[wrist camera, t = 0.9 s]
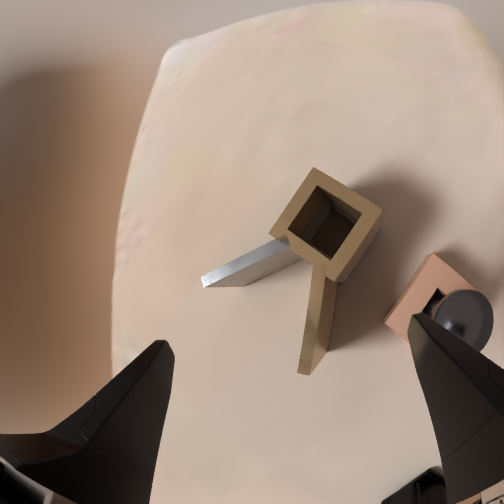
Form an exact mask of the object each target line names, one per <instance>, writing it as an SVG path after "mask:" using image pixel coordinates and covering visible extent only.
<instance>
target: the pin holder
mask: <svg viewBox="0 0 504 504" xmlns="http://www.w3.org/2000/svg"><path fill="white" fill-rule="evenodd" d="M459 289H468V290H475V291H477V290H476V289H475V288H474V287H473V286H472V285H471V284H469V283H468V282H467V281H466V280H465V279H464V278H463V277H461V276H460V275H459V274H458V273H457V272H456V271H454V270H453V269H452V268H451V267H450V266H448V265H447V264H446V263H445V262H444V261H442V260H441V259H440V258H439V257H437V256H436V255H435V254H434V253H432V254H430V255H428V256H426V258H425V259H424V261H423V263H422V264H421V266H420V267H419V269H418V271H417V272H416V274H415V275H414V277H413V278H412V280H411V281H410V283H409V284H408V286H407V287H406V289H405V290H404V292H403V293H402V294H401V296H400V297H399V299H398V300H397V301H396V303H395V304H394V306H393V307H392V308H391V310H390V311H389V312H388V314H387V315H386V316H385V318H384V323H385V324H386V325H387V326H388V327H390V328H391V329H392V330H393V331H395V332H396V333H397V334H398V335H400V336H401V337H402V338H403V339H405V340H406V341H407V342H408V343H409V340H408V335H407V331H408V327H409V323H410V319H411V316H412V315H413V314H416V313H421V311H422V310H423V308H424V307H425V306H426V304H427V303H428V301H429V300H430V298H431V297H432V295H433V294H434V292H435V291H437V292H438V293H439V294H441V295H442V296H443V297H445V296H446V295H447V294H449V293H451V292H453V291H455V290H459ZM409 344H410V343H409Z"/></svg>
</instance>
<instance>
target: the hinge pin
mask: <svg viewBox="0 0 504 504" xmlns="http://www.w3.org/2000/svg"><path fill="white" fill-rule="evenodd" d="M422 313H424V314H425V315H427V316H428V317H430V318H431V319H433V320H434V321H436V322H437V323H439V324H440V325H442V326H443V327H445V328H446V329H448V330H449V331H450V332H452V333H453V334H455V335H456V336H458V337H459V338H461V339H462V340H463V341H465V342H466V343H468V344H469V345H470V346H472V347H473V348H475V349H476V350H477V351H479V352H480V351H481V350H482V349H483V348H484V347H485V345H486V344H487V342H488V340H489V338H490V336H491V333H492V329H493V320H494V318H493V311H492V307H491V305H490V303H489V301H488V299H487V298H486V297H485V296H484V295H483V294H481V293H480V292H478V291H475V290H468V289H459V290H455V291H453V292H451V293H449V294H447V295H446V296H445V297H444V298H443V299H442V298H438V297H431V298H430V300H429V301H428V303H427V304H426V306H425V307H424V308H423V310H422Z"/></svg>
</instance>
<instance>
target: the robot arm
mask: <svg viewBox="0 0 504 504" xmlns="http://www.w3.org/2000/svg"><path fill="white" fill-rule="evenodd" d="M407 335H408V340H409V343H410V347H411V351H412V355H413V360H414V364H415V368H416V372H417V375H418V378H419V381H420V384H421V387H422V390H423V393H424V396H425V399H426V403H427V406H428V409H429V413H430V416H431V420H432V424H433V427H434V431H435V435H436V439H437V443H438V448H439V452H440V457H441V461H442V467H443V473H444V476H442V475H440V474H439V473H437V472H436V471H434V470H432V469H429V470H427V471H425V472H424V473H423V474H421V475H420V476H419V477H417V478H416V479H415V480H413V481H412V482H411V483H409V484H408V485H406V486H405V487H403V488H402V489H400V490H399V491H397V492H396V493H394V494H393V495H391V496H390V497H388V498H386V499H385V500H383V501H382V502H381V504H456V503H458V502H461V501H463V500H465V499H467V498H470V497H472V496H474V495H476V494H478V493H480V496H481V498H480V499H478V500H477V501H475V502H473V504H504V369H502V368H501V367H500V366H498V365H497V364H495V363H494V362H493V361H491V360H490V359H488V358H487V357H486V356H484V355H483V354H482V353H480V352H479V351H477V350H476V349H475V348H473V347H472V346H470V345H469V344H468V343H466V342H465V341H463V340H462V339H461V338H459V337H458V336H456V335H455V334H453V333H452V332H450V331H449V330H448V329H446V328H445V327H443V326H442V325H440V324H439V323H437V322H436V321H434V320H433V319H431V318H430V317H428V316H427V315H425V314H424V313H416V314H413V315H412V316H411V319H410V323H409V327H408V331H407ZM174 362H175V356H174V353H173V351H172V349H171V347H170V345H169V343H168V342H167V341H166V340H156V341H154V342H153V343H152V344H151V345H150V346H149V347H148V348H146V349H145V350H144V351H143V352H142V353H141V354H140V355H139V356H138V357H136V358H135V359H134V360H133V361H132V362H131V363H130V364H129V365H128V366H127V367H125V368H124V369H123V370H122V371H121V372H120V373H119V374H118V375H117V376H115V377H114V378H113V379H112V380H111V381H110V382H109V383H108V384H107V385H105V386H104V387H103V388H102V389H101V390H100V391H99V392H98V393H96V395H94V396H93V397H92V398H91V399H90V400H89V401H88V402H86V403H85V404H84V405H83V406H82V407H80V408H79V409H78V410H77V411H75V412H74V413H73V414H71V415H70V416H69V417H68V418H66V419H65V420H63V421H62V422H61V423H59V424H58V425H56V426H55V427H54V428H52V429H51V430H49V431H46V432H43V433H36V434H0V457H1V458H2V459H3V460H5V461H6V464H4V463H3V462H1V461H0V504H149V501H150V495H151V489H152V483H153V477H154V472H155V466H156V461H157V456H158V451H159V446H160V441H161V436H162V431H163V426H164V422H165V417H166V413H167V408H168V404H169V399H170V394H171V387H172V379H173V370H174ZM429 473H430V474H429ZM427 474H428V475H427Z"/></svg>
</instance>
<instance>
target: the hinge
mask: <svg viewBox="0 0 504 504" xmlns="http://www.w3.org/2000/svg"><path fill="white" fill-rule="evenodd" d="M332 209H334V210H335V211H337V212H338V213H340V214H341V215H343V216H344V217H346V218H347V219H349V220H350V221H352V222H353V223H355V226H354V227H353V229H352V230H351V232H350V233H349V235H348V236H347V238H346V239H345V241H344V242H343V244H342V245H341V247H340V248H339V249H338V251H337V252H336V254H335V255H334V257H333V258H331V257H330V256H328V255H327V254H325V253H324V252H323V251H321V250H320V249H319V248H317V247H316V246H314V245H313V244H312V243H310V241H311V240H312V238H313V237H314V235H315V234H316V233H317V231H318V230H319V228H320V227H321V225H322V224H323V222H324V221H325V219H326V218H327V216H328V215H329V213H330V212H331V210H332ZM382 211H383V210H382V209H381V208H379V207H378V206H376V205H375V204H373V203H372V202H370V201H369V200H367V199H366V198H364V197H363V196H361V195H359V194H358V193H356V192H355V191H353V190H351V189H350V188H348V187H347V186H345V185H343V184H342V183H340V182H338V181H337V180H335V179H333V178H331V177H330V176H328V175H326V174H325V173H323V172H321V171H319V170H318V169H316V168H314V167H313V168H312V170H311V171H310V173H309V174H308V176H307V177H306V179H305V180H304V182H303V183H302V184H301V186H300V187H299V189H298V190H297V192H296V193H295V195H294V196H293V198H292V199H291V201H290V202H289V204H288V205H287V207H286V208H285V210H284V211H283V213H282V214H281V215H280V217H279V218H278V220H277V221H276V223H275V224H274V226H273V227H272V229H271V230H270V232H269V234H270V235H272V236H273V237H274V238H276V239H274V240H272V241H270V242H268V243H267V244H265V245H263V246H261V247H259V248H257V249H255V250H253V251H251V252H249V253H247V254H245V255H243V256H241V257H239V258H237V259H235V260H233V261H231V262H229V263H227V264H225V265H223V266H221V267H219V268H217V269H215V270H213V271H211V272H209V273H207V274H205V275H203V276H201V280H202V283H203V286H204V287H243V286H245V285H247V284H250V283H252V282H254V281H256V280H258V279H261V278H263V277H265V276H267V275H269V274H272V273H274V272H276V271H278V270H280V269H282V268H285V267H287V266H289V265H291V264H293V263H295V262H297V261H300V260H302V259H304V260H305V261H306V262H308V263H309V264H310V265H312V266H313V272H312V280H311V288H310V296H309V303H308V310H307V317H306V324H305V330H304V337H303V343H302V349H301V355H300V360H299V366H298V371H297V373H300V374H305V375H310V374H311V373H312V371H313V370H314V369H315V368H316V366H317V365H318V364H319V362H320V361H321V360H322V358H323V357H324V356H325V354H326V353H327V350H328V344H329V339H330V333H331V327H332V321H333V314H334V307H335V300H336V293H337V285H338V282H345V281H346V279H347V278H348V277H349V275H350V274H351V272H352V271H353V270H354V268H355V267H356V265H357V264H358V262H359V261H360V259H361V258H362V257H363V255H364V254H365V252H366V251H367V249H368V248H369V246H370V245H371V243H372V242H373V240H374V239H375V237H376V236H377V234H378V232H379V231H380V229H381V224H382Z"/></svg>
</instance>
